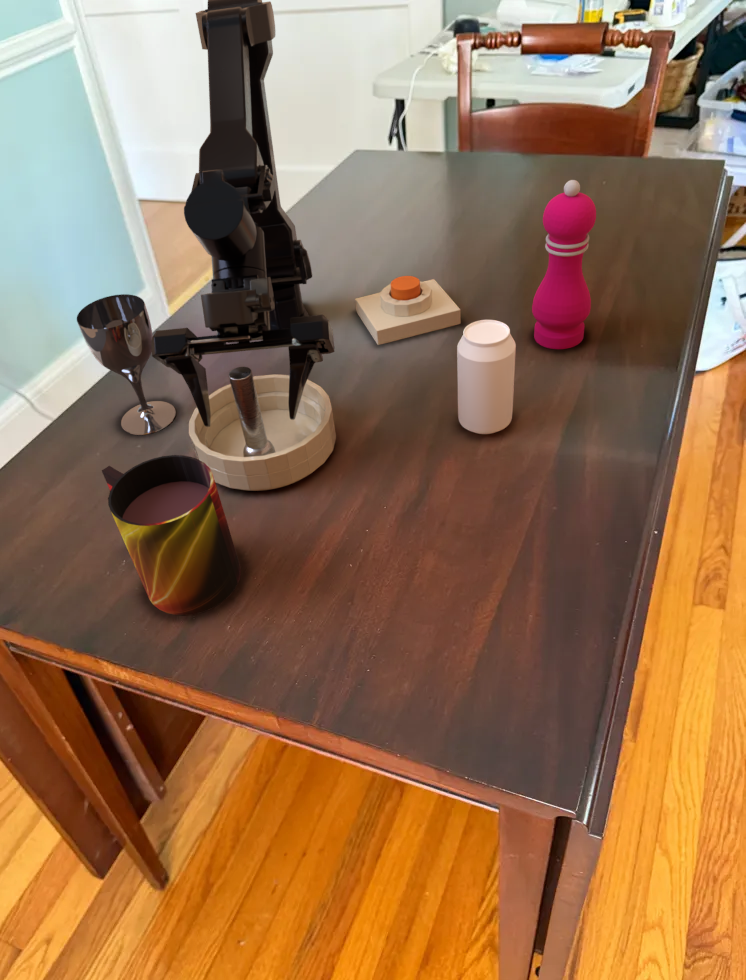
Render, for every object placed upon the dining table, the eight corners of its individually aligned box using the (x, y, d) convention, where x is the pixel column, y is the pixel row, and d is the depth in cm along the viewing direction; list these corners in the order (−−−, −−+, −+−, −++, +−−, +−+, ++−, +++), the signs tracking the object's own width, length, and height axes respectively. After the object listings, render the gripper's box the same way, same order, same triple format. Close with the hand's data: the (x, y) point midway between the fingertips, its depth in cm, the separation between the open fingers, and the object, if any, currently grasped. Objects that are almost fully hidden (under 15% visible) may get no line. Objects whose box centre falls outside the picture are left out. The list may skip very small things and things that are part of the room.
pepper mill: (587, 352, 99) (607, 192, 85) (529, 351, 101) (538, 194, 87) (586, 322, 104) (605, 166, 90) (531, 322, 106) (540, 169, 92)
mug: (134, 535, 84) (97, 448, 76) (253, 549, 81) (229, 458, 72) (93, 603, 78) (47, 515, 70) (220, 621, 74) (188, 531, 66)
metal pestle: (248, 456, 90) (224, 364, 81) (279, 454, 90) (258, 361, 81) (245, 477, 87) (220, 384, 79) (276, 474, 87) (255, 381, 79)
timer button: (387, 291, 109) (386, 279, 108) (414, 284, 109) (413, 273, 108) (396, 304, 106) (396, 292, 105) (424, 297, 107) (424, 285, 105)
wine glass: (189, 402, 102) (157, 296, 91) (160, 440, 96) (122, 331, 86) (137, 396, 104) (99, 292, 93) (106, 433, 99) (62, 326, 88)
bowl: (189, 429, 97) (179, 395, 94) (317, 395, 99) (311, 361, 96) (210, 511, 86) (199, 476, 82) (354, 471, 88) (349, 436, 84)
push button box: (356, 312, 113) (353, 286, 110) (434, 292, 115) (433, 267, 112) (378, 345, 106) (375, 318, 103) (460, 324, 108) (460, 297, 105)
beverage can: (507, 441, 88) (511, 348, 80) (453, 436, 90) (451, 345, 82) (515, 409, 92) (520, 317, 84) (463, 405, 94) (462, 315, 86)
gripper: (127, 258, 76) (137, 418, 76) (317, 238, 74) (328, 401, 74) (164, 294, 87) (173, 434, 87) (330, 277, 85) (339, 420, 85)
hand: (249, 422), depth 83 cm, fingers open, 9 cm apart
